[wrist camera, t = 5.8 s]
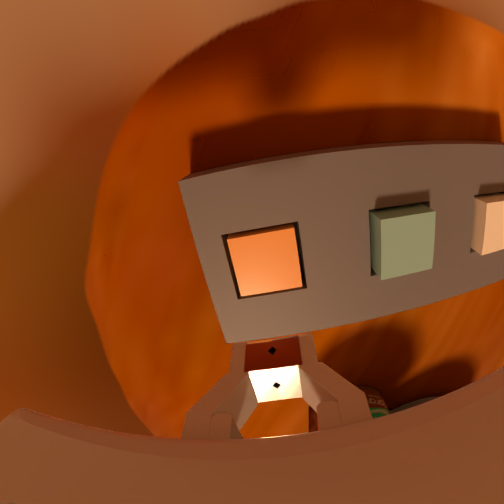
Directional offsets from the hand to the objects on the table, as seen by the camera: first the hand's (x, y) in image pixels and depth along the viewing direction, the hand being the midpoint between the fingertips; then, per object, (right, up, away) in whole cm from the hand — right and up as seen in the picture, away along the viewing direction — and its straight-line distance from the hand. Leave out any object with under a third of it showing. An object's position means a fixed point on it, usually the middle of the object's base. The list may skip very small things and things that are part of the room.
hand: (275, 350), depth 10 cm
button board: (+9, +6, +9) cm, 14 cm away
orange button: (0, +4, +9) cm, 9 cm away
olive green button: (+9, +5, +7) cm, 12 cm away
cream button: (+18, +6, +6) cm, 20 cm away
